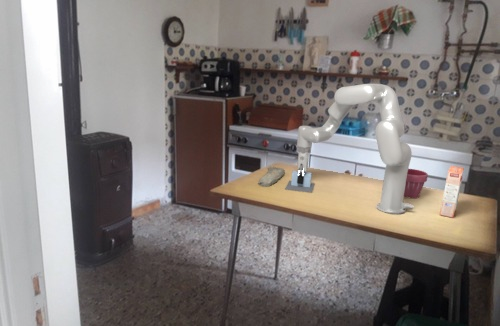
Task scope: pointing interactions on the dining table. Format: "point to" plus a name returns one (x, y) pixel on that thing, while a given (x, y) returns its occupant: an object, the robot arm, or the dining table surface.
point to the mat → (299, 188)
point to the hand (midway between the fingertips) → (301, 181)
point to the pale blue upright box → (306, 179)
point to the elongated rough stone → (271, 176)
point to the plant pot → (414, 183)
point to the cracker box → (451, 191)
